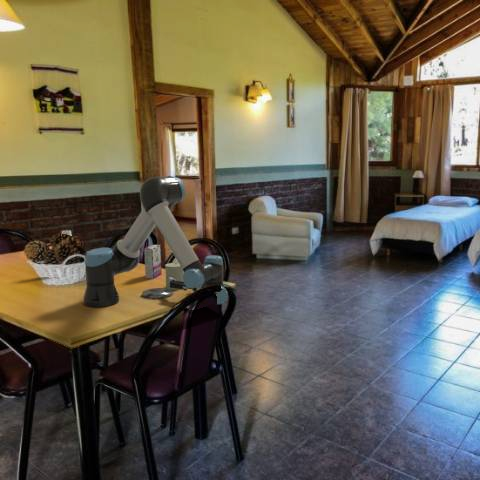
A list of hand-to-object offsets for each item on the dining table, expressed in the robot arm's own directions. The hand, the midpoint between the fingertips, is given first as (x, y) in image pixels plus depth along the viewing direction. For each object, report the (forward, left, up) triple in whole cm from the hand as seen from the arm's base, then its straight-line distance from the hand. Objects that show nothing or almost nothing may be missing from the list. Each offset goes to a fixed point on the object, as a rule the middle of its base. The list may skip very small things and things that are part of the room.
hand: (183, 278), depth 221 cm
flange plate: (-11, +5, -7) cm, 14 cm away
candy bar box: (+6, +37, -7) cm, 38 cm away
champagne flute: (-26, +73, -7) cm, 78 cm away
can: (+2, +10, -7) cm, 12 cm away
